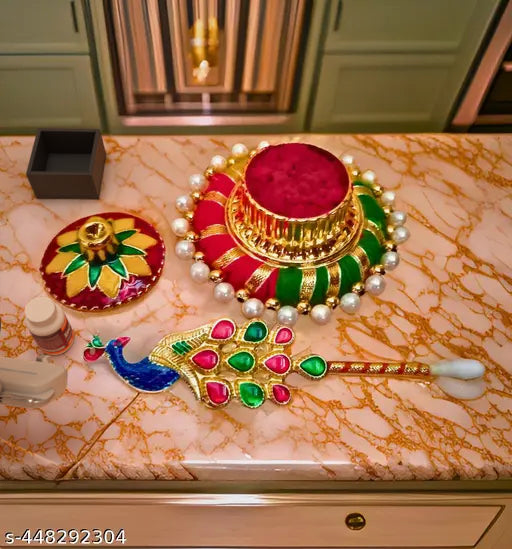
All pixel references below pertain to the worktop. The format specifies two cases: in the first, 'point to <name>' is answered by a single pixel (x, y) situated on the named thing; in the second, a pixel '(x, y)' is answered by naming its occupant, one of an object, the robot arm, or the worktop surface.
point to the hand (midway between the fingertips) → (14, 355)
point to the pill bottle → (48, 326)
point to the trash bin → (67, 163)
